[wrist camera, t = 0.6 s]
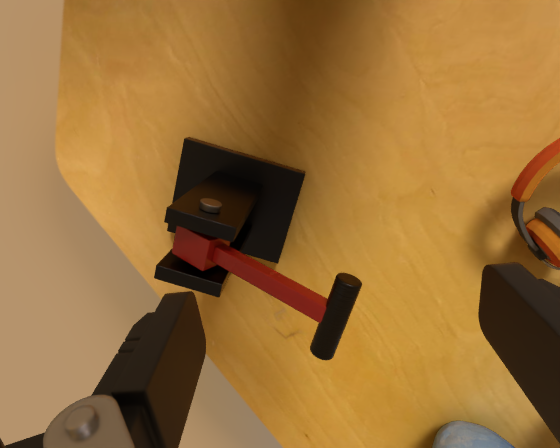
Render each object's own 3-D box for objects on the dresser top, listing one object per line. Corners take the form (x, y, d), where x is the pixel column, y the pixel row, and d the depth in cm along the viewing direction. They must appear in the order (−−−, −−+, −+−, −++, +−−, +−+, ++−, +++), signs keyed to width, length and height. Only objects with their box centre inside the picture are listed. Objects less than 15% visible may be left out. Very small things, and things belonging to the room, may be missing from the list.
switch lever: (368, 278, 21) (354, 292, 19) (339, 349, 23) (324, 369, 21) (205, 199, 26) (180, 203, 24) (191, 262, 28) (167, 271, 26)
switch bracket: (305, 171, 34) (299, 213, 22) (279, 258, 37) (260, 337, 25) (188, 136, 34) (118, 159, 22) (171, 226, 37) (101, 290, 25)
